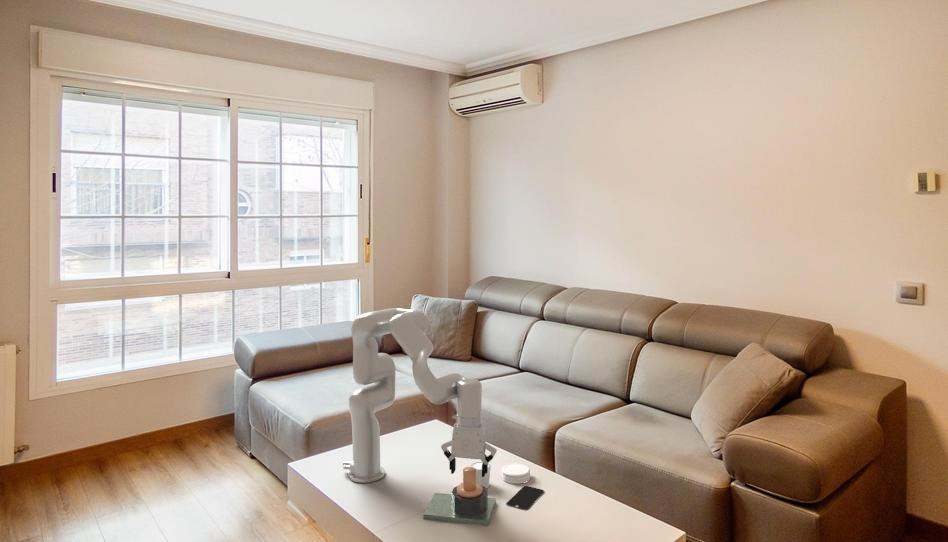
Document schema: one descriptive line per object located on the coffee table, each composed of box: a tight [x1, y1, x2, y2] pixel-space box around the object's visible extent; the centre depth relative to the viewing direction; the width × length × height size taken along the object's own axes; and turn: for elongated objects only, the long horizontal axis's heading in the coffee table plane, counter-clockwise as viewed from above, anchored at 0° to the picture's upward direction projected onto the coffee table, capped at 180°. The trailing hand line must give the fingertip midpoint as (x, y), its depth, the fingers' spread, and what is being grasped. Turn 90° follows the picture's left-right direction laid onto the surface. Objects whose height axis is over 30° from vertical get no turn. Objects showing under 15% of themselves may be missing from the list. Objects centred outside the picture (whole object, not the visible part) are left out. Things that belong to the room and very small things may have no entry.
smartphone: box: [505, 485, 545, 511], centre depth 188 cm, size 8×1×15 cm
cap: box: [457, 466, 483, 498], centre depth 179 cm, size 8×8×10 cm
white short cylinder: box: [501, 462, 531, 485], centre depth 203 cm, size 10×10×4 cm
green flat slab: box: [422, 484, 497, 527], centre depth 180 cm, size 20×14×6 cm
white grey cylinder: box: [470, 461, 492, 489], centre depth 197 cm, size 7×7×7 cm
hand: (468, 473), depth 179 cm, fingers open, 9 cm apart
